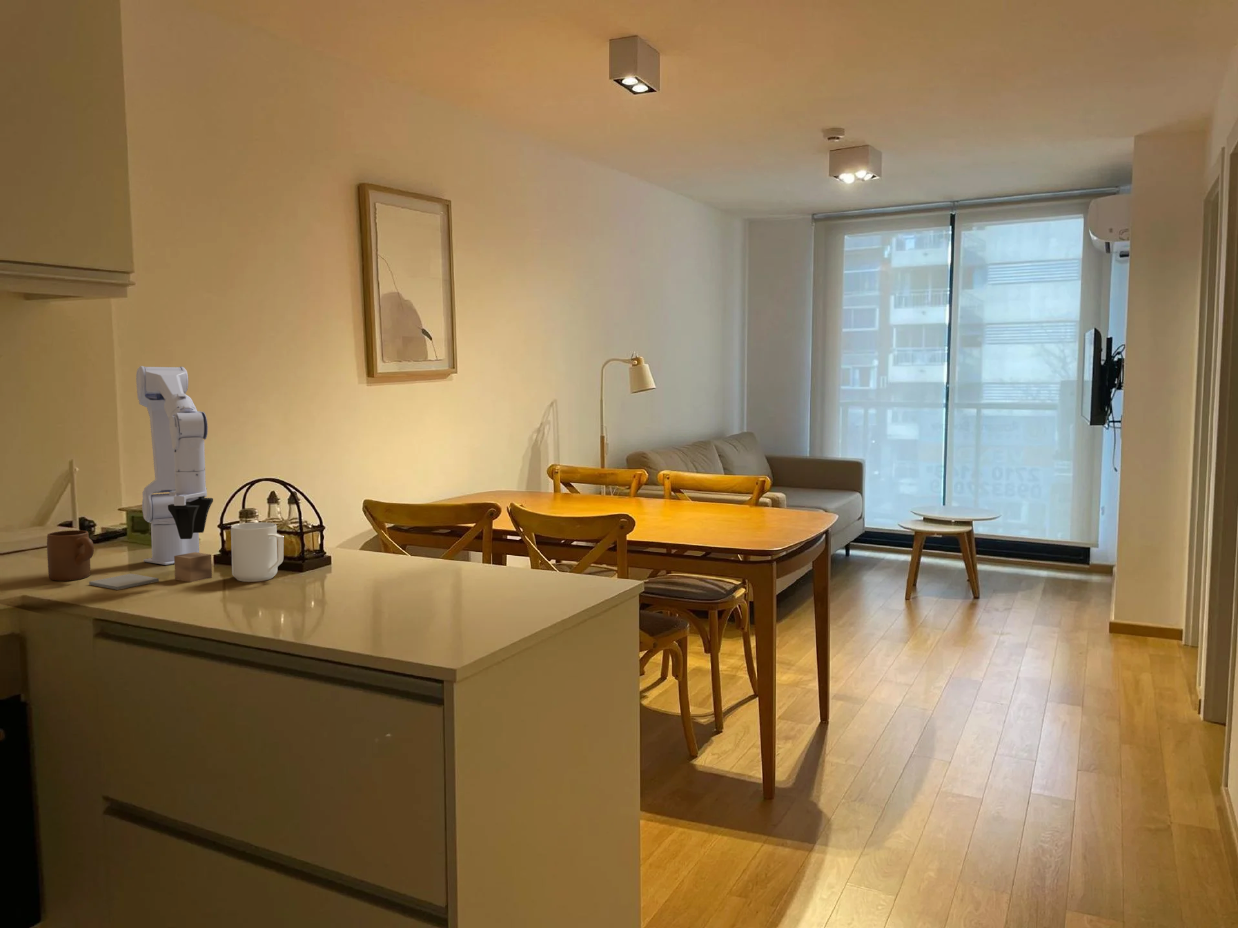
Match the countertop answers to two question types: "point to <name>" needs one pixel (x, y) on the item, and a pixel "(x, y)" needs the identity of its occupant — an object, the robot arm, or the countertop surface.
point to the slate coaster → (123, 581)
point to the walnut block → (193, 567)
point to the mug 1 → (69, 555)
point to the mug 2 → (256, 551)
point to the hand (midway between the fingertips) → (192, 535)
